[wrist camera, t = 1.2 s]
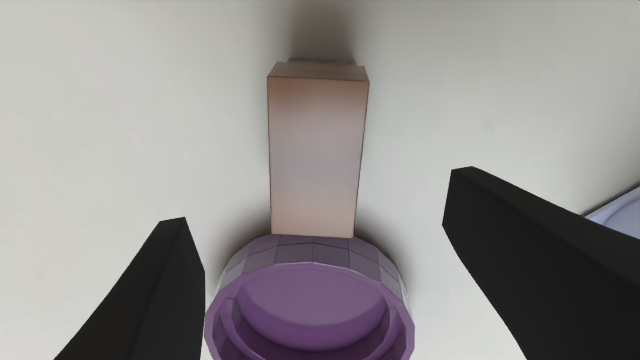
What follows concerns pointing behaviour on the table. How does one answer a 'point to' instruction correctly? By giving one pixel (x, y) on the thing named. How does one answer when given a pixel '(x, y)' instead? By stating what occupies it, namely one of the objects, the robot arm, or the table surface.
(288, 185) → the tall brown wooden block
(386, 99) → the table surface
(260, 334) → the bowl
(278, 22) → the table surface
